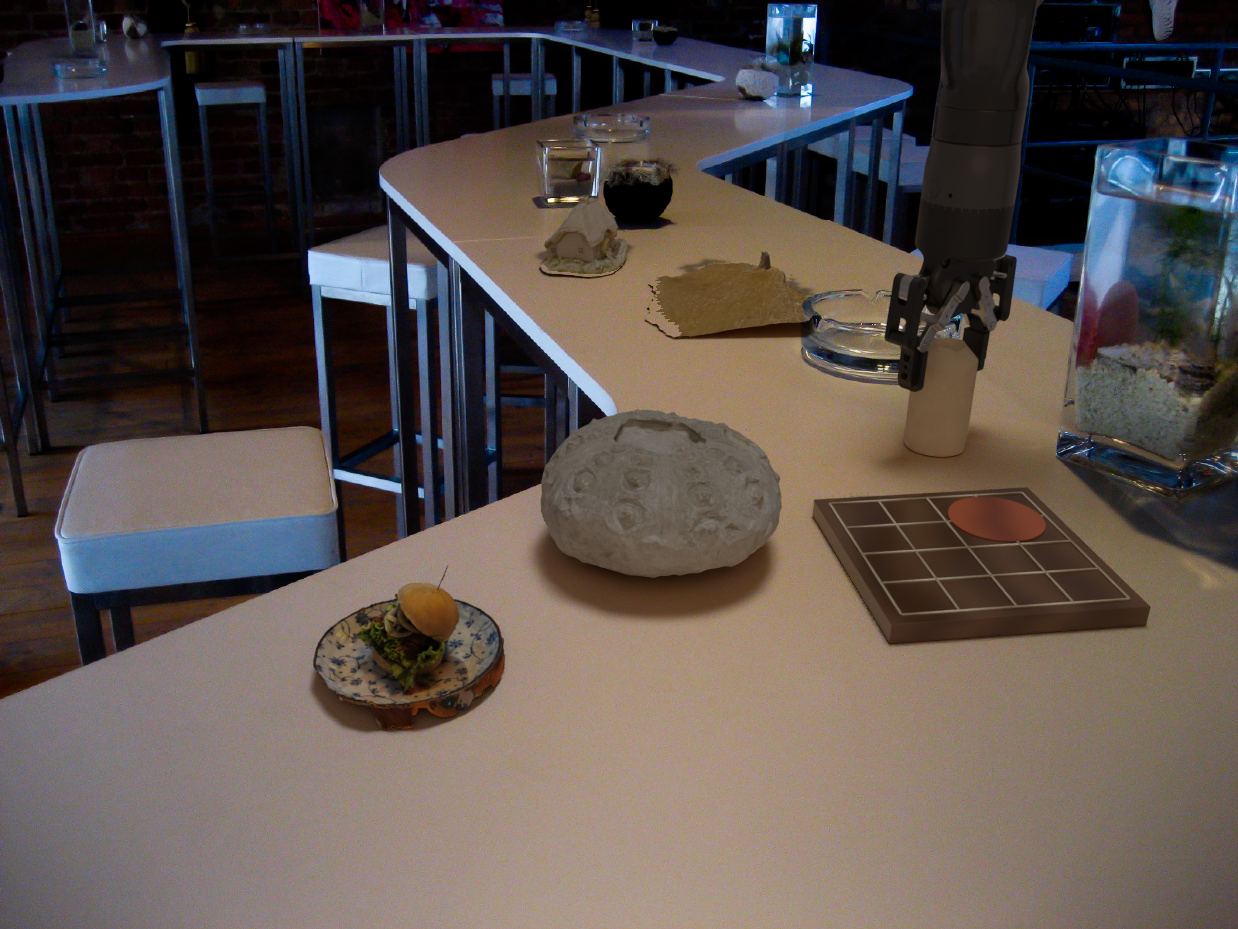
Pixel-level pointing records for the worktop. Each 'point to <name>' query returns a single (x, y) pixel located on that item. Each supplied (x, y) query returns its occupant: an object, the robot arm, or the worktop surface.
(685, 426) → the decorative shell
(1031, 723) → the worktop surface
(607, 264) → the ceramic model
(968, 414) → the candle
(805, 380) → the worktop surface
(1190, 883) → the worktop surface
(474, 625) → the burger
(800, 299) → the leather hide
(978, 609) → the board
